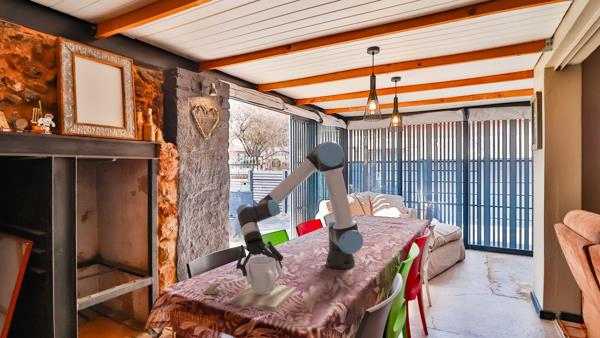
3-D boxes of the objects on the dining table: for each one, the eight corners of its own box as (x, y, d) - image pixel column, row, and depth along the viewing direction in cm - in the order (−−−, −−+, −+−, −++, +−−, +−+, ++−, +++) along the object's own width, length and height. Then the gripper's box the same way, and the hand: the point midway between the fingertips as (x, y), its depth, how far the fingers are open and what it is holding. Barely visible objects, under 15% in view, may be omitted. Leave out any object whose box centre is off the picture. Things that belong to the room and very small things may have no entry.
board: (296, 290, 137) (296, 286, 137) (275, 310, 118) (275, 306, 118) (255, 284, 144) (255, 281, 144) (229, 303, 126) (229, 299, 126)
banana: (201, 300, 132) (201, 296, 132) (207, 283, 152) (206, 279, 152) (224, 295, 134) (223, 291, 134) (226, 279, 154) (225, 275, 154)
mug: (286, 296, 128) (285, 263, 127) (261, 303, 122) (260, 269, 121) (268, 284, 140) (267, 254, 140) (244, 290, 134) (244, 259, 134)
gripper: (275, 236, 150) (291, 278, 138) (222, 243, 139) (233, 290, 126) (280, 227, 146) (296, 269, 133) (225, 233, 134) (237, 281, 121)
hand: (266, 279), depth 129 cm, fingers open, 13 cm apart
